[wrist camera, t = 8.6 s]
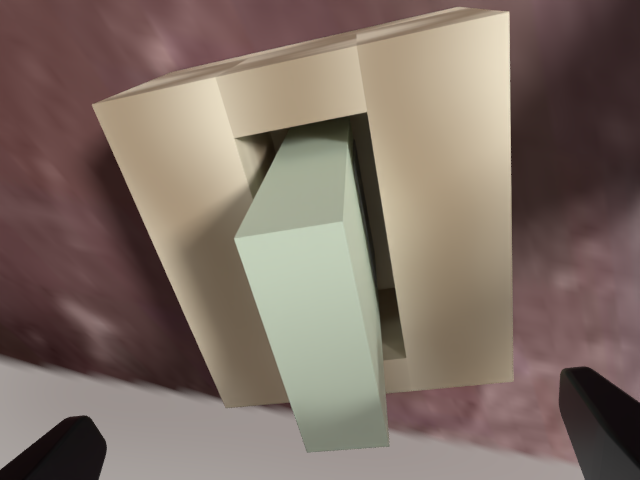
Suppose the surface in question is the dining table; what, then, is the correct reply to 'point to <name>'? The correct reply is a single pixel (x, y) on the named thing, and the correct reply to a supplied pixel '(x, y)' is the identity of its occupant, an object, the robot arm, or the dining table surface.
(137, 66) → the dining table surface
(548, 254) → the dining table surface
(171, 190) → the hollow square frame
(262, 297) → the green rectangular block
